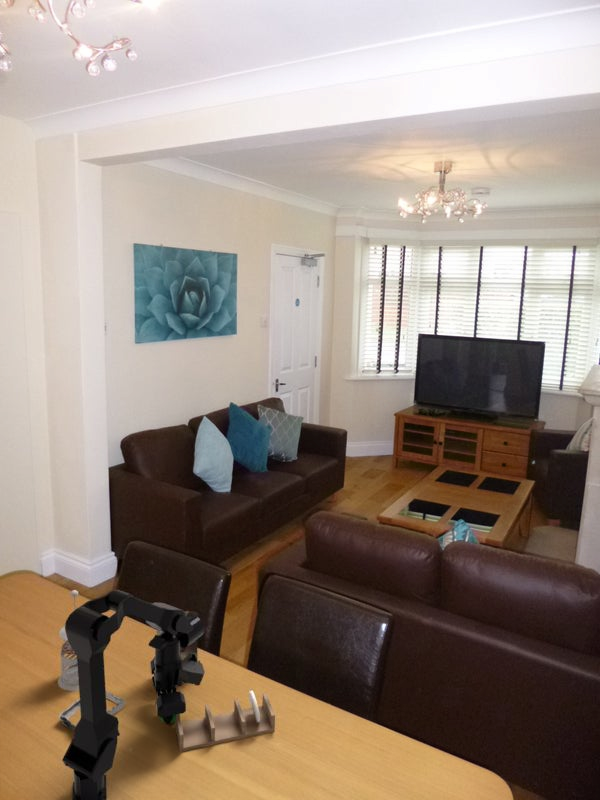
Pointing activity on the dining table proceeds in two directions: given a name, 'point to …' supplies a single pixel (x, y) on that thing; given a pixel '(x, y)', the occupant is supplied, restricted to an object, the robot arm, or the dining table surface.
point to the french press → (68, 661)
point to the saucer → (254, 706)
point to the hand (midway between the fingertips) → (166, 716)
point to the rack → (224, 726)
